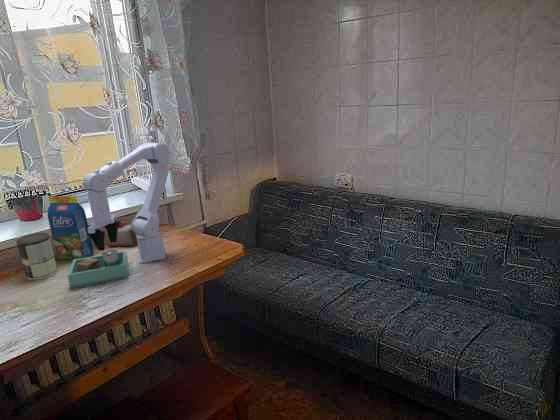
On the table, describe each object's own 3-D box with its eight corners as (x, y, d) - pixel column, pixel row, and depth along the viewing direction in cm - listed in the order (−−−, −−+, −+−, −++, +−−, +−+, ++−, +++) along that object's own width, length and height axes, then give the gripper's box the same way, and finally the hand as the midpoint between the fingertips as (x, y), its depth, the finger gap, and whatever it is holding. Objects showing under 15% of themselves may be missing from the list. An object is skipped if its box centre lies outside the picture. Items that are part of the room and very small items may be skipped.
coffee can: (19, 280, 148) (9, 243, 144) (36, 268, 157) (27, 233, 153) (47, 279, 147) (38, 242, 143) (63, 267, 157) (54, 231, 153)
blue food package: (68, 253, 170) (54, 194, 163) (94, 254, 168) (81, 193, 161) (57, 259, 164) (42, 198, 157) (84, 260, 162) (70, 198, 155)
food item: (104, 247, 175) (100, 225, 172) (116, 240, 182) (111, 218, 179) (133, 248, 171) (129, 225, 168) (144, 241, 179) (140, 219, 176)
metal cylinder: (111, 267, 151) (108, 249, 149) (123, 267, 150) (120, 249, 148) (102, 273, 147) (98, 254, 144) (115, 273, 145) (111, 255, 143)
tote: (128, 263, 156) (126, 250, 155) (127, 278, 144) (125, 264, 142) (76, 272, 151) (73, 259, 150) (70, 289, 138) (67, 275, 137)
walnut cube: (90, 271, 149) (87, 258, 148) (101, 272, 147) (98, 259, 146) (79, 277, 145) (76, 264, 143) (90, 278, 143) (87, 265, 141)
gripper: (98, 214, 134) (106, 254, 138) (122, 202, 148) (128, 238, 151) (78, 215, 135) (87, 253, 139) (104, 202, 149) (111, 238, 153)
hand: (107, 245), depth 145 cm, fingers open, 7 cm apart
